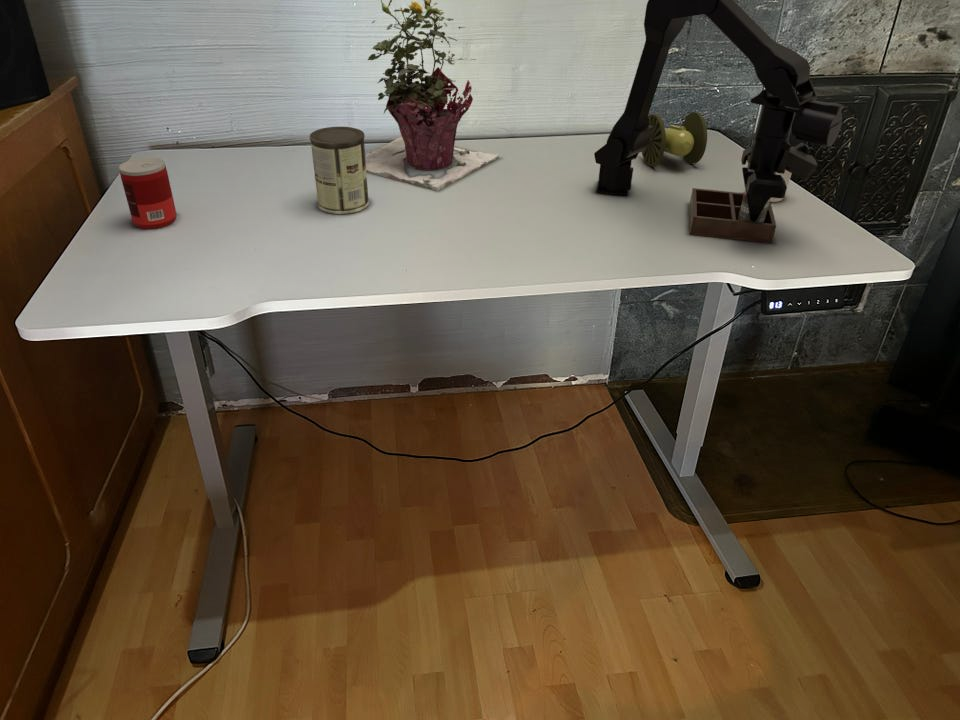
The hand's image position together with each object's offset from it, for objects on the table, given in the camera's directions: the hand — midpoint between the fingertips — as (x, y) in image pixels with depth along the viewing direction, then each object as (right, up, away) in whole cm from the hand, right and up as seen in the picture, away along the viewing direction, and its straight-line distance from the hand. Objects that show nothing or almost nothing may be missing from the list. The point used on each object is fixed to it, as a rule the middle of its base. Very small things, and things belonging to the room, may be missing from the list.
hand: (752, 215), depth 140 cm
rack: (-3, 0, +5) cm, 6 cm away
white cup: (+9, +7, +17) cm, 21 cm away
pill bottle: (0, -1, +1) cm, 2 cm away
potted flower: (-65, +18, +30) cm, 74 cm away
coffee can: (-79, +4, +9) cm, 79 cm away
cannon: (-9, +21, +37) cm, 44 cm away
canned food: (-113, -1, +1) cm, 113 cm away
